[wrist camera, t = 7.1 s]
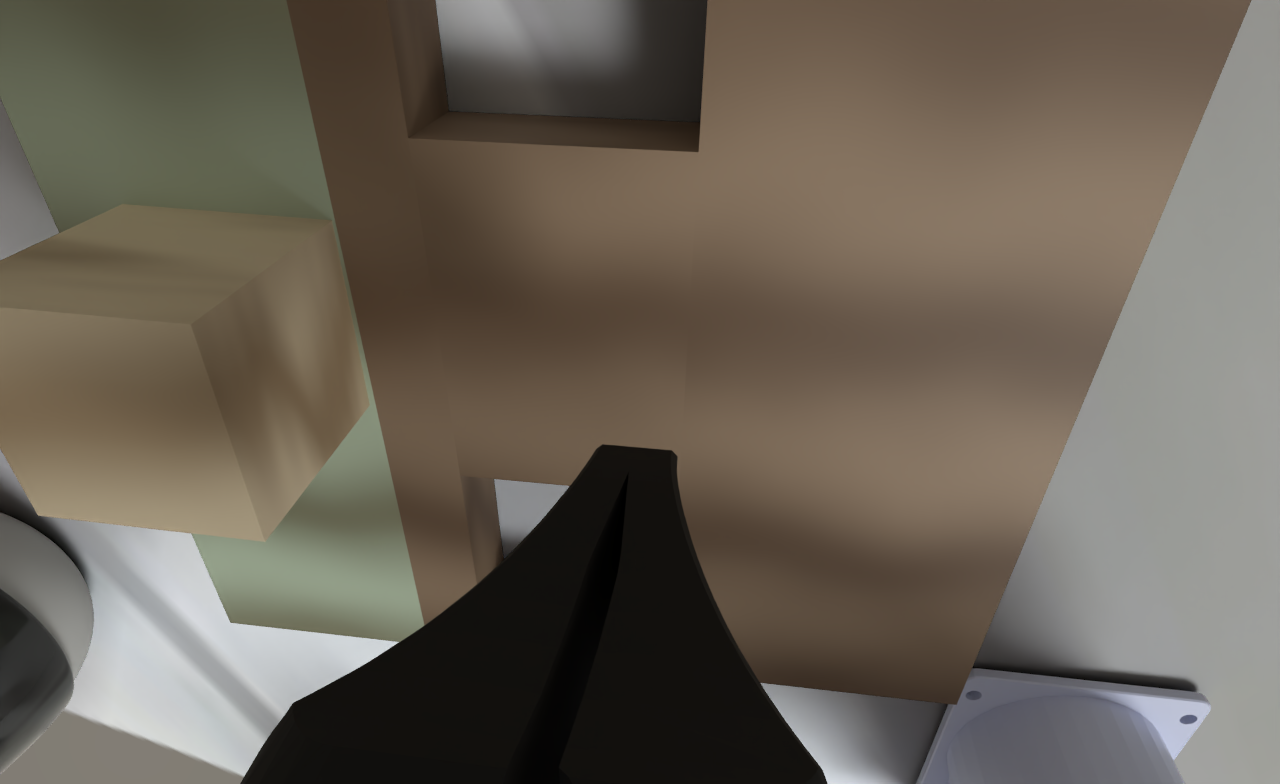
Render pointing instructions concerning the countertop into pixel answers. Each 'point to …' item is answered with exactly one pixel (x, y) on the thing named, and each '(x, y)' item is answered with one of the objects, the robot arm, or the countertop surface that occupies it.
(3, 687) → the pump dispenser
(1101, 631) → the countertop surface
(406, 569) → the trap board
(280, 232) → the maple cube
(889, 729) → the countertop surface
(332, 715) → the robot arm
